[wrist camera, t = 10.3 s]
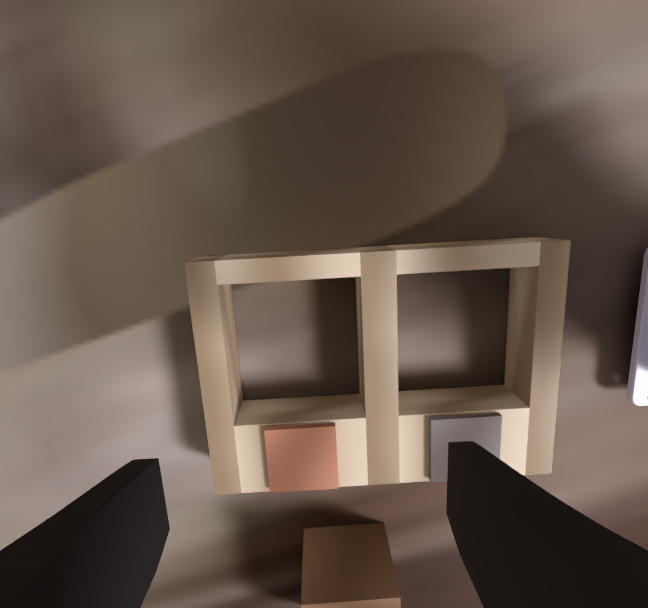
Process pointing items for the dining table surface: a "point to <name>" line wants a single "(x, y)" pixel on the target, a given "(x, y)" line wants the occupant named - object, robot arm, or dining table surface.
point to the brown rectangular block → (348, 568)
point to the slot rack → (380, 372)
